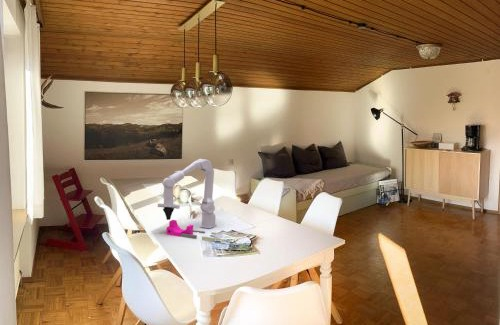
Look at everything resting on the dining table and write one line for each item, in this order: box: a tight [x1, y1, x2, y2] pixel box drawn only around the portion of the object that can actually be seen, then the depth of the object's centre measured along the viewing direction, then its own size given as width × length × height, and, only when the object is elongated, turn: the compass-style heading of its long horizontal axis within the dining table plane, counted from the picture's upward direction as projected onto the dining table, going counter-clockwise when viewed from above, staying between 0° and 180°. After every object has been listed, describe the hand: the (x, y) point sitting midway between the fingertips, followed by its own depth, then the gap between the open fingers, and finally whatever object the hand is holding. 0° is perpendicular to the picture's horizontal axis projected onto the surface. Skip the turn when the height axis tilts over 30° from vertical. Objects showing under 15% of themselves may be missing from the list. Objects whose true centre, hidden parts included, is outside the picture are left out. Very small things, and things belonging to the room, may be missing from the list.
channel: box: [181, 229, 206, 240], centre depth 236 cm, size 11×18×2 cm, turn 68°
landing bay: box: [201, 231, 232, 243], centre depth 228 cm, size 13×19×2 cm, turn 68°
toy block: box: [165, 219, 194, 238], centre depth 235 cm, size 15×6×8 cm, turn 66°
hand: (168, 219), depth 237 cm, fingers closed
